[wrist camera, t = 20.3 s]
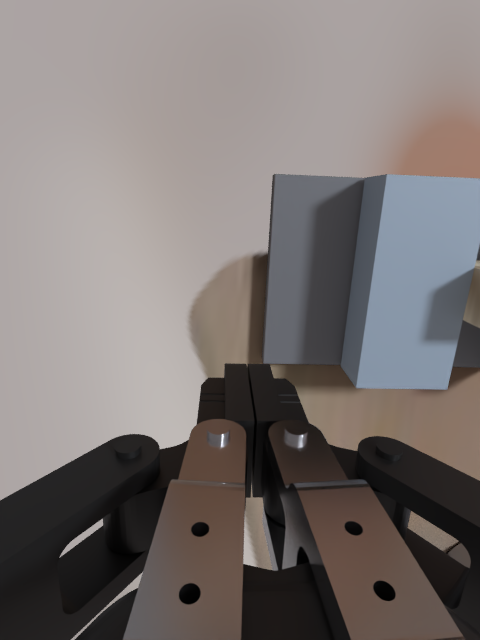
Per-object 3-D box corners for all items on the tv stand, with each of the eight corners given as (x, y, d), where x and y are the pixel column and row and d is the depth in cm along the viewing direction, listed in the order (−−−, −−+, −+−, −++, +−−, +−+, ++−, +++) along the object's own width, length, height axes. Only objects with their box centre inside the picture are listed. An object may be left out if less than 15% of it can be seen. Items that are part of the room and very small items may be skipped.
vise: (507, 361, 37) (559, 391, 31) (261, 356, 36) (269, 386, 30) (554, 187, 32) (625, 185, 27) (272, 175, 31) (284, 169, 25)
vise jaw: (421, 367, 35) (447, 389, 31) (340, 366, 34) (356, 388, 30) (458, 181, 30) (494, 179, 26) (364, 177, 30) (387, 174, 26)
